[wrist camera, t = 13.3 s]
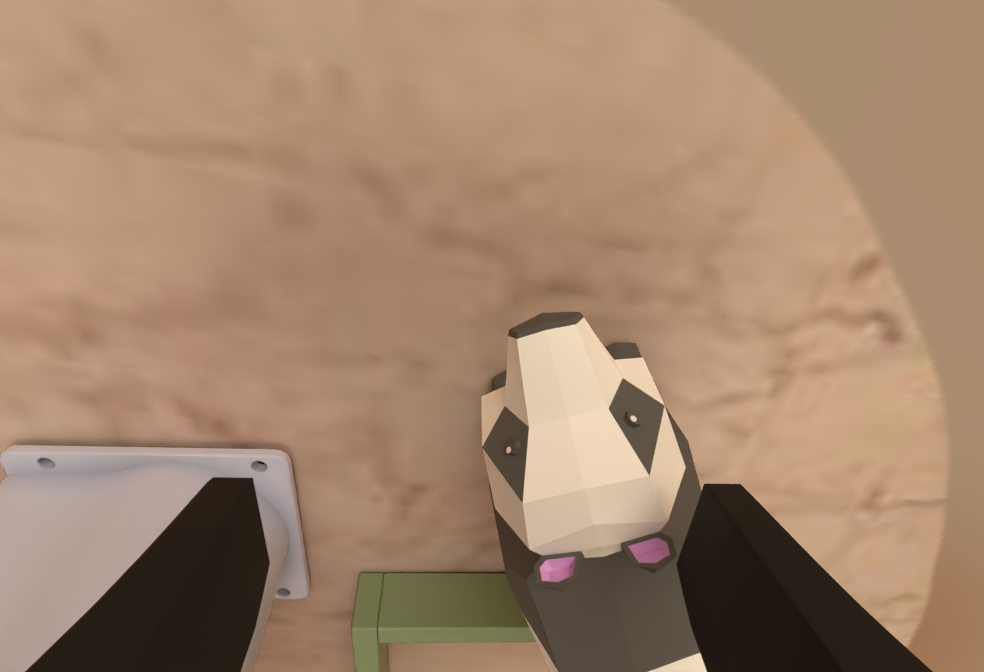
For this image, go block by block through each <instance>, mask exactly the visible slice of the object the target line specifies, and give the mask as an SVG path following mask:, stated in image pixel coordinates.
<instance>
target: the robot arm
mask: <svg viewBox="0 0 984 672" xmlns="http://www.w3.org/2000/svg"><path fill="white" fill-rule="evenodd" d="M256 461H260V462H263V463H265V464H260V463H258V462H256ZM0 462H1V464H2V466H3V468H4V470H5V472H6V474H7V476H6V477H5V478H4V479H3V481H2V482H1V483H0V672H253V670H254V666H255V663H256V659H257V656H258V652H259V649H260V645H261V642H262V639H263V635H264V632H265V628H266V625H267V621H268V618H269V614H270V611H271V607H272V604H273V600H274V599H302V598H304V597H306V596H307V595H308V593H309V589H310V580H309V574H308V567H307V561H306V554H305V547H304V541H303V534H302V528H301V521H300V515H299V508H298V502H297V495H296V488H295V482H294V475H293V469H292V462H291V458H290V456H289V455H288V454H287V453H286V452H284V451H281V450H277V449H232V448H171V447H110V446H50V445H12V446H9V447H8V448H6V449H5V451H4V452H3V453H2V454H1V456H0ZM676 565H677V569H678V574H679V578H680V583H681V587H682V592H683V597H684V601H685V605H686V609H687V613H688V617H689V621H690V625H691V628H692V631H693V634H694V637H695V640H696V643H697V645H698V648H699V651H700V654H701V657H702V659H703V662H704V665H705V668H706V671H707V672H932V671H931V670H930V669H929V668H928V667H927V666H926V665H924V664H923V663H922V662H921V661H920V660H919V659H918V658H917V657H916V656H915V655H913V654H912V653H911V652H910V651H909V650H908V649H907V648H906V647H905V646H904V645H902V644H901V643H900V642H899V641H898V640H897V639H896V638H895V637H894V636H893V635H891V634H890V633H889V632H888V631H887V630H886V629H885V628H884V627H883V626H882V625H881V624H880V623H879V622H877V621H876V620H875V619H874V618H873V617H872V616H871V615H870V614H869V613H868V612H867V611H866V610H865V609H864V608H863V607H862V606H861V605H860V604H859V603H857V602H856V601H855V600H854V599H853V598H852V597H851V596H850V595H849V594H848V593H847V592H846V591H845V590H844V589H843V588H842V587H841V586H840V585H839V584H838V583H837V582H836V581H835V580H834V579H833V578H832V577H831V576H830V575H829V574H828V573H827V572H826V571H825V570H824V569H823V568H822V567H821V566H820V565H819V564H818V563H817V562H816V561H815V560H814V559H813V558H812V557H811V556H810V555H809V554H808V553H807V552H806V551H805V550H804V549H803V548H802V547H801V546H800V545H799V544H798V543H797V542H796V541H795V540H794V539H793V537H792V536H791V535H790V534H789V533H788V532H787V531H786V530H785V529H784V528H783V527H782V526H781V525H780V524H779V523H778V522H777V521H776V520H775V519H774V518H773V517H772V516H771V515H770V514H769V513H768V512H767V511H766V510H765V509H764V508H763V507H762V506H761V504H760V503H759V502H758V501H757V500H756V499H755V498H754V497H753V496H752V495H751V494H750V493H749V492H748V491H747V490H746V489H745V488H744V487H743V486H742V485H741V484H704V486H703V489H702V492H701V495H700V498H699V501H698V504H697V507H696V509H695V512H694V515H693V518H692V521H691V524H690V527H689V529H688V532H687V535H686V538H685V541H684V544H683V547H682V549H681V552H680V555H679V558H678V561H677V564H676Z"/></svg>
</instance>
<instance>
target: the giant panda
mask: <svg viewBox="0 0 984 672" xmlns="http://www.w3.org/2000/svg"><path fill="white" fill-rule="evenodd" d="M493 379H494V391H493V392H490V393H488V394H486V395H483V396H482V450H483V454H484V459H485V464H486V468H487V473H488V478H489V487H490V492H491V497H492V503H493V508H494V513H495V518H496V524H497V529H498V534H499V539H500V544H501V550H502V555H503V560H504V565H505V571H506V576H507V580H508V582H509V584H510V587H511V589H512V591H513V593H514V595H515V597H516V600H517V602H518V604H519V606H520V608H521V610H522V613H523V615H524V617H525V619H526V621H527V623H528V625H529V627H530V629H531V631H532V634H533V636H534V638H535V640H536V642H537V644H538V646H539V648H540V650H541V652H542V654H543V656H544V659H545V661H546V664H547V667H548V670H549V672H707V671H706V668H705V665H704V662H703V659H702V657H701V654H700V651H699V648H698V645H697V643H696V640H695V637H694V634H693V631H692V628H691V625H690V621H689V617H688V613H687V609H686V605H685V601H684V597H683V592H682V587H681V583H680V578H679V574H678V569H677V565H676V564H677V561H678V558H679V555H680V552H681V549H682V547H683V544H684V541H685V538H686V535H687V532H688V529H689V527H690V524H691V521H692V518H693V515H694V512H695V509H696V507H697V504H698V501H699V498H700V495H701V492H702V491H701V488H700V484H699V480H698V477H697V473H696V470H695V466H694V462H693V459H692V455H691V451H690V448H689V444H688V441H687V439H686V438H685V436H684V435H683V433H682V431H681V430H680V428H679V427H678V425H677V424H676V422H675V421H674V419H673V418H672V416H671V415H670V413H669V412H668V410H667V408H666V407H665V405H664V403H663V401H662V399H661V397H660V394H659V392H658V390H657V388H656V385H655V383H654V381H653V379H652V377H651V374H650V372H649V370H648V368H647V366H646V363H645V361H644V359H643V358H642V357H641V355H640V352H639V350H638V348H637V346H636V344H635V343H613V344H611V345H610V346H608V347H606V348H605V347H604V345H603V344H602V343H601V341H600V340H599V339H598V337H597V336H596V335H595V333H594V332H593V331H592V329H591V327H590V326H589V324H588V323H587V321H586V320H585V318H584V317H583V315H582V314H581V313H580V312H560V313H541V314H539V315H537V316H535V317H533V318H531V319H529V320H528V321H526V322H524V323H522V324H520V325H518V326H516V327H514V328H512V329H510V330H509V335H508V354H507V370H506V371H504V372H502V373H501V374H499V375H497V376H495V377H494V378H493Z"/></svg>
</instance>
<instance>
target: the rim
mask: <svg viewBox="0 0 984 672" xmlns="http://www.w3.org/2000/svg"><path fill="white" fill-rule="evenodd" d="M351 635H352V645H353V655H354V664H355V672H388V652H387V643H454V642H536V640H535V638H534V636H533V634H532V631H531V629H530V627H529V625H528V623H527V621H526V619H525V617H524V615H523V613H522V610H521V608H520V606H519V604H518V602H517V600H516V597H515V595H514V593H513V591H512V589H511V587H510V584H509V582H508V580H507V576H506V573H385V574H384V575H383V573H360V575H359V580H358V587H357V593H356V599H355V605H354V611H353V618H352V624H351Z"/></svg>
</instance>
